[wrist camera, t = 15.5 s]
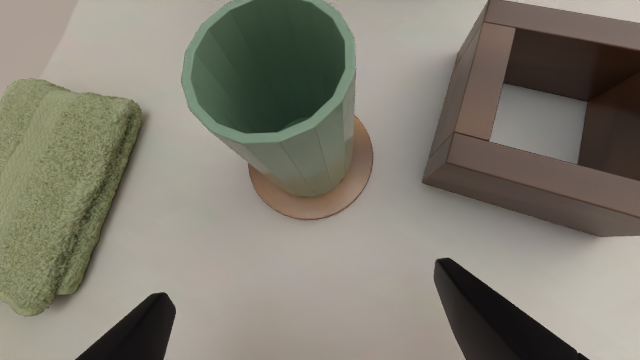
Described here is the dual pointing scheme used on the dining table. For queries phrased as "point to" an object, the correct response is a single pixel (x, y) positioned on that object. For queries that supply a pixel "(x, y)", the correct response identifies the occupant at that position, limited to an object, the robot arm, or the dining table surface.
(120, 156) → the washcloth
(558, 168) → the cup holder
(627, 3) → the dining table surface
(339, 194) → the coaster
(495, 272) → the dining table surface
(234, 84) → the cup
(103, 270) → the dining table surface
